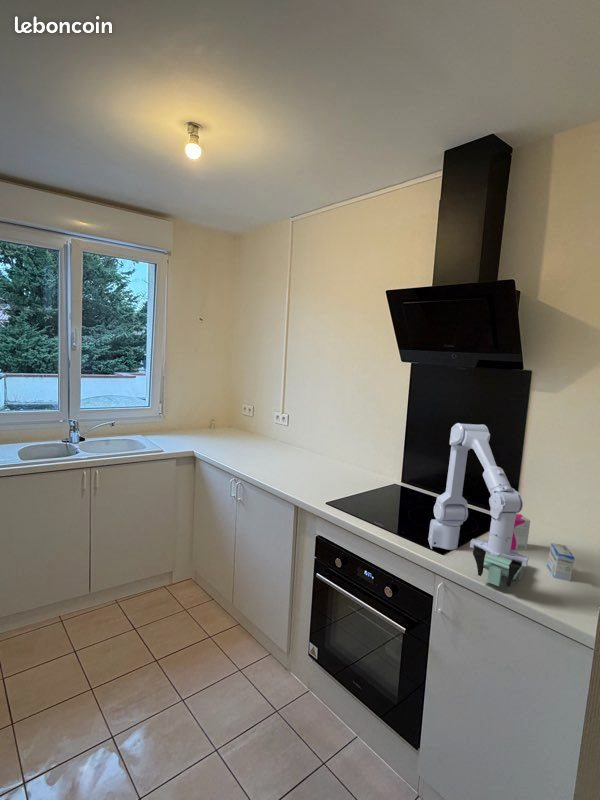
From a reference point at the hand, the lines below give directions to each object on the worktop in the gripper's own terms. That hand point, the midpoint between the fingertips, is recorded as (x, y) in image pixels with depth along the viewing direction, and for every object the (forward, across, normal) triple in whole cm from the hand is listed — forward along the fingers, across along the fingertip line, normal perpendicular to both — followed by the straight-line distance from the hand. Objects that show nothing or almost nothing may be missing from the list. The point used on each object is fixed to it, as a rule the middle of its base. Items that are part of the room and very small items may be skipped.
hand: (494, 579), depth 115 cm
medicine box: (+4, +13, +25) cm, 29 cm away
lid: (+1, 0, +6) cm, 6 cm away
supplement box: (+4, -2, +35) cm, 35 cm away
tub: (+3, 0, +16) cm, 16 cm away
